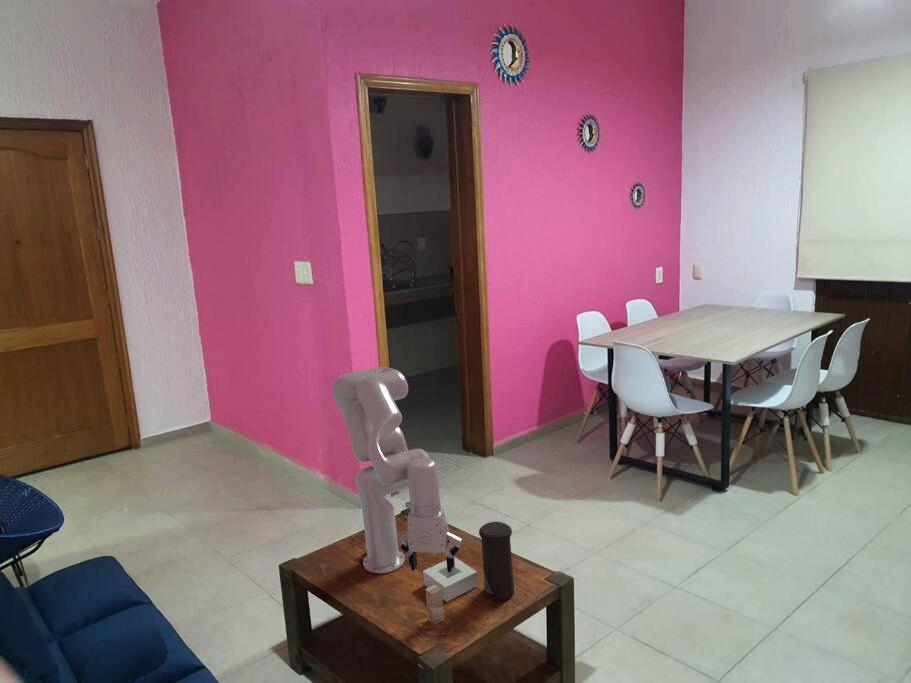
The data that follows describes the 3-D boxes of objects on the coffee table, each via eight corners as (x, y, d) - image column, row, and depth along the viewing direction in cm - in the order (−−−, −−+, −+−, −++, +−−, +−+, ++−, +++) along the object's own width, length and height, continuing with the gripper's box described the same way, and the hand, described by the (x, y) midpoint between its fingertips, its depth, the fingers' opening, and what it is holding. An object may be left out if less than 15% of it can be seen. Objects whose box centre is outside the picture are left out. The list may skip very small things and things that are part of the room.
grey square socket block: (424, 584, 196) (423, 570, 195) (455, 570, 202) (454, 556, 201) (446, 601, 187) (445, 587, 186) (478, 585, 193) (477, 571, 192)
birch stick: (428, 619, 180) (425, 589, 178) (437, 614, 182) (435, 584, 180) (435, 624, 178) (432, 594, 176) (444, 619, 179) (441, 589, 177)
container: (495, 579, 196) (491, 516, 191) (521, 589, 190) (517, 524, 185) (477, 595, 189) (472, 529, 185) (503, 605, 183) (499, 538, 179)
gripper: (388, 513, 171) (396, 574, 175) (455, 515, 167) (461, 578, 170) (398, 499, 178) (405, 559, 182) (462, 501, 174) (468, 562, 177)
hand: (432, 568), depth 176 cm, fingers open, 9 cm apart
